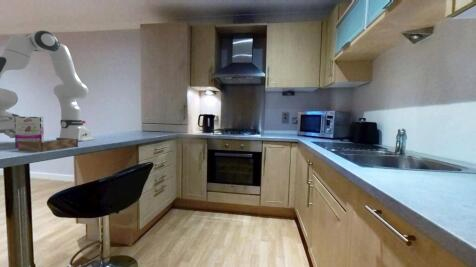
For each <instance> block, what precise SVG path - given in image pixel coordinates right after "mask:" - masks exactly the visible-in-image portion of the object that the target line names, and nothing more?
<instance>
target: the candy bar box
mask: <svg viewBox="0 0 476 267" xmlns="http://www.w3.org/2000/svg"><path fill="white" fill-rule="evenodd" d="M14 118H15V138H14V140H15V142H14V143H15V148H19V145H18V141H32V142H45V135H44V134H45V132H44V131H45V130H44V117H43V116H20V117H14Z"/></svg>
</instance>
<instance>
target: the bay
mask: <svg viewBox="0 0 476 267" xmlns="http://www.w3.org/2000/svg"><path fill="white" fill-rule="evenodd" d="M55 139H56V140H50V141H49V140H48V141H44V142H32V141H18V145H19V147H18V151H25V150H28V152H38V151H39V152H48V151H56V150H64V149H72V148H78V147H79V141H78V139H72V138H59V137H56V138H55Z"/></svg>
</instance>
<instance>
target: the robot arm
mask: <svg viewBox="0 0 476 267" xmlns="http://www.w3.org/2000/svg"><path fill="white" fill-rule="evenodd" d="M33 52H47V54H48V55H49V56H50V60H51V63H52V67H53V70H54V73H55V75H56V76H57V77H59V79H60V80H61V83H59V84H56V85H55V86H54V87H53V94H54V95H55V97H56V98H57V100H58V103H59V105H60V106H59V107H60V114H61V115H60V116H61V117H60V118H61V119H60V122H59V123H60V132H59V137H58V138H72V139H78V142H86V141H91V140H92V141H93V140H96V137H93V136H92V133H91V132H92V131H91V130H89V128H87V127H86V126H84V124H86V123H87V121H86V120H82V108H81V107H80V106H79V105H78V102H77V101H78V100H83V99H85V98H87V97H88V96H89V92H90V91H89V88H88V86H86V85H85V84H84V83H83V82H82V81H81V79H80V78H79V76H78V73H77V71H76V68H75V65H74V62H73V58H72V55H71V53H70V50H69V48H68V46H66V45H65V44H62V43H60V41H59V40H58V39H57V37H56V35H54V34H53V33H52V32H50V31H48V30H37V31H33V32H31V33H28V34H27V35H26V36H25V35H22V34H12V35H11V36H10V38H9V39H8V41H7V43H6V45H5V48H4V50H3V52H2V53H1V55H0V79H1V78H2V77H3V75H4V73H5V72H6V71H13V70H15V71H17V70H18V71H20V70H23V69H25V68H27V67H28V65H29V64H30V60H31V57H32V54H33ZM18 101H19V98H18V95H17V93H16V92H14V91H12V90H9V89H6V88H2V87H0V134H4V135H5V136H8V137H9V138H10V139H15V118H14V117H21V115H19V114H16V113H12V112H8V111H7V110H9V109H10V108H12V107H14V106H15V105H17V103H18Z"/></svg>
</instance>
